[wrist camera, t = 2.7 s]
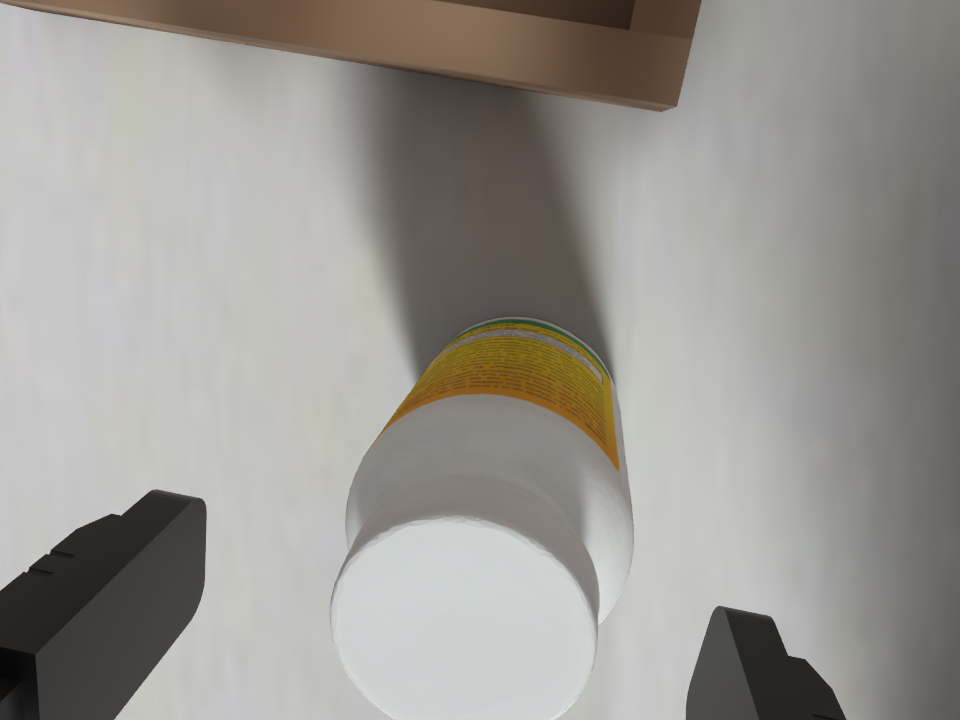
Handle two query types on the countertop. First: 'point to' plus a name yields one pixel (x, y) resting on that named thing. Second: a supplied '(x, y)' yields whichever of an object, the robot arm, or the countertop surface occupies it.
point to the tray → (449, 38)
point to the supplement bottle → (487, 531)
